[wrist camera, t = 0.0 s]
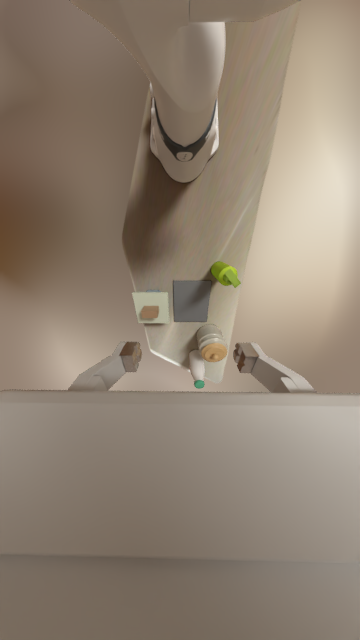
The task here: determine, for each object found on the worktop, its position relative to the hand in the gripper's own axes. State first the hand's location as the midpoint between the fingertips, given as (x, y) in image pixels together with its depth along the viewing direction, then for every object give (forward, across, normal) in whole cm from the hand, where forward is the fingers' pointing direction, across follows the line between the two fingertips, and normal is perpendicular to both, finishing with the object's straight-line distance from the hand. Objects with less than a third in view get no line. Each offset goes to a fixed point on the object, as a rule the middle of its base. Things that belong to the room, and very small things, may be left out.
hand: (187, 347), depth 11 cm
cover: (+42, +13, +16) cm, 47 cm away
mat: (+48, -4, +16) cm, 51 cm away
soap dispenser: (+48, -14, +1) cm, 50 cm away
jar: (+48, -14, +34) cm, 61 cm away
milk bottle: (+48, -8, +49) cm, 69 cm away
